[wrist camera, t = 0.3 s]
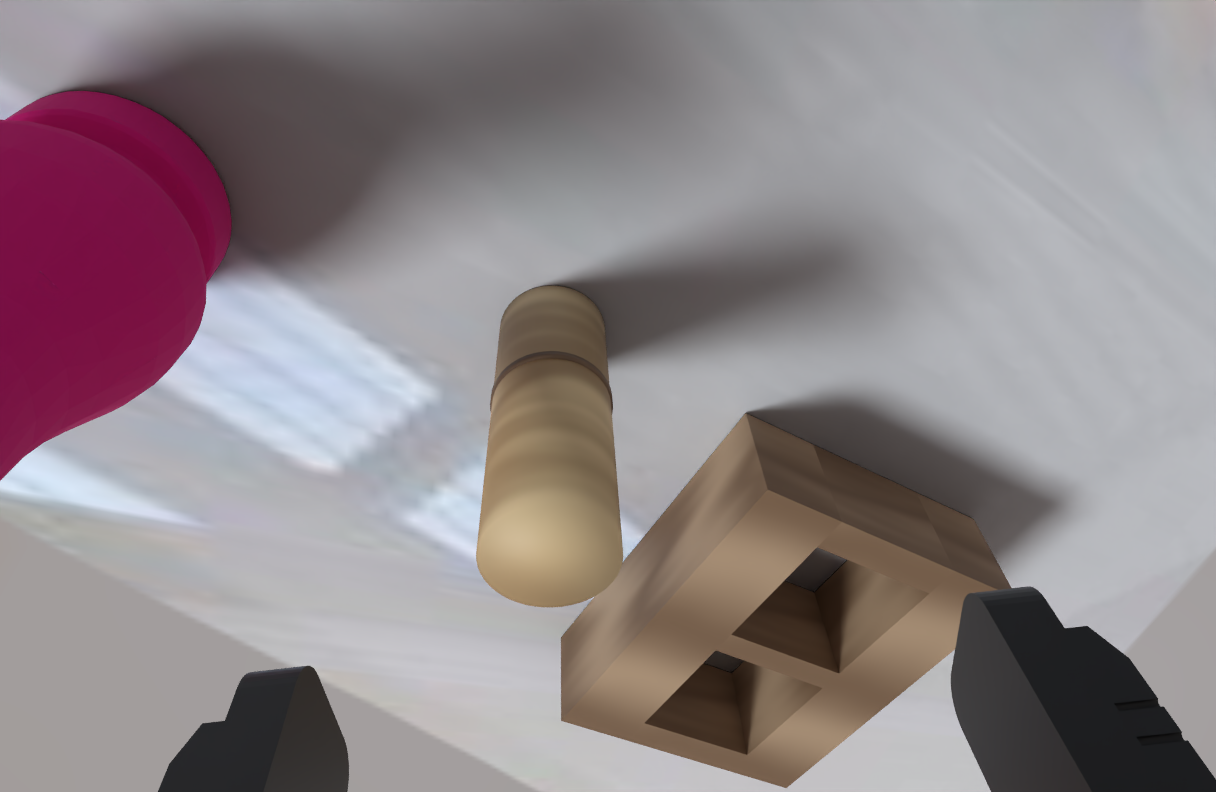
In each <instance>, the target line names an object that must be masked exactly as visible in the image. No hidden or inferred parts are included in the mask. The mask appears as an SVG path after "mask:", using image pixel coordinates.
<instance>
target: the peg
mask: <svg viewBox="0 0 1216 792" xmlns="http://www.w3.org/2000/svg"><path fill="white" fill-rule="evenodd" d="M490 410H491V419H490V428H489V438H488V447H487V457H486V466H485V476H484V485H483V495H482V504H481V514H480V523H479V533H478V543H477V552H476V560H477V565H478V569H479V571H480V573H481V575H482V577H483V578H484V580H485V581H486V582H487V583H488V585H489V586H491V587H492V588H493V589H494V590H495V591H497V592H498V593H499V594H501V595H503V596H504V597H506V598H508V599H511V600H513V601H516V602H518V603H522V604H525V605H530V606H537V607H562V606H568V605H573V604H576V603H580V602H583V601H585V600H588V599H590V598H592V597H594V596H596V595H597V594H599V593H601V592H602V591H603V590H605V589H606V588H607V587H608V586H609V585H610V584H611V583H612V582H613V581H614V579H615V578H616V577H617V575H618V573H619V571H620V569H621V566H622V562H623V547H622V535H621V523H620V510H619V498H618V485H617V473H616V461H615V448H614V436H613V424H612V410H613V402H612V393H611V388H610V386H609V374H608V362H607V349H606V337H605V325H604V320H603V317H602V315H601V313H600V311H599V309H598V308H597V306H596V305H595V304H594V303H593V302H592V301H591V300H590V299H589V298H588V297H586V296H585V295H584V294H582V293H580V292H578V291H576V290H573V289H571V288H567V287H562V286H542V287H537V288H534V289H531V290H528V291H526V292H524V293H522V294H521V295H519V296H518V297H517V298H515V299H514V300H513V301H512V302H511V303H510V304H509V306H508V307H507V309H506V310H505V312H504V314H503V316H502V320H501V325H500V333H499V342H498V352H497V361H496V371H495V381H494V386H493V389H492V394H491V402H490Z"/></svg>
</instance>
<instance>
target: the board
mask: <svg viewBox="0 0 1216 792" xmlns="http://www.w3.org/2000/svg"><path fill="white" fill-rule="evenodd" d="M817 547H818V548H820V549H823V550H825V551H828V552H830V553H832V554H835V555H837V556H840V557H842V558H844V559H847V561H846V562H845V563H844V564H843V565H842V566H841V567H840V568H839V569H838V570H837V571H836V572H835V573H834V574H833V575H832V576H831V577H830V578H829V579H828V580H827V581H826V582H825V583H824V584H823V585H822V586H821V587H819V588H818V589H817V590H816V591H815V592H811V591H809V590H806V589H804V588H801V587H799V586H796V585H794V584H791V583H789V582H786V581H784V580H785V579H786V578H787V577H788V576H789V575H790V574H791V573H792V572H793V571H794V570H795V569H796V568H797V567H798V566H799V565H800V564H801V563H802V562H803V561H804V560H805V559H806V558H807V557H808V556H809V555H810V554H811V553H812V552H813V551H814V550H815V549H816V548H817ZM1002 589H1011V586H1010V584H1009V583H1008V581H1007V579H1006V577H1005V575H1004V574H1003V572H1002V570H1001V568H1000V566H999V564H998V563H997V561H996V559H995V557H994V555H993V554H992V552H991V550H990V548H989V546H988V544H987V543H986V541H985V539H984V537H983V535H982V533H981V532H980V530H979V528H978V526H977V524H976V523H975V521H974V519H972V518H970V517H968V516H966V515H963V514H961V513H959V512H957V511H955V510H953V509H951V508H948V507H946V506H944V505H942V504H940V503H938V502H936V501H933V500H931V499H929V498H927V497H925V496H923V495H921V494H918V493H916V492H914V491H912V490H910V489H908V488H905V487H903V486H901V485H899V484H897V483H895V482H893V481H890V480H888V479H886V478H884V477H882V476H880V475H878V474H875V473H873V472H871V471H869V470H867V469H865V468H863V467H860V466H858V465H856V464H854V463H852V462H850V461H848V460H845V459H843V458H841V457H839V456H837V455H835V454H832V453H830V452H828V451H826V450H824V449H822V448H820V447H817V446H815V445H813V444H811V443H809V442H807V441H805V440H802V439H800V438H798V437H796V436H794V435H792V434H790V433H787V432H785V431H783V430H781V429H779V428H777V427H775V426H772V425H770V424H768V423H766V422H764V421H762V420H759V419H757V418H755V417H753V416H751V415H749V414H747V413H745V415H744V416H743V417H742V418H741V419H740V421H739V422H738V423H737V424H736V426H735V427H734V428H733V429H732V430H731V432H730V433H729V434H728V435H727V436H726V438H725V439H724V440H723V441H722V443H721V444H720V445H719V446H718V447H717V449H716V450H715V451H714V452H713V453H712V455H711V456H710V457H709V458H708V460H707V461H706V462H705V463H704V464H703V466H702V467H701V468H700V469H699V471H698V472H697V473H696V474H695V475H694V477H693V478H692V479H691V480H690V481H689V483H688V484H687V485H686V486H685V488H684V489H683V490H682V491H681V492H680V494H679V495H678V496H677V497H676V498H675V500H674V501H673V502H672V503H671V505H670V506H669V507H668V508H667V509H666V511H665V512H664V513H663V514H662V516H661V517H660V518H659V519H658V520H657V522H656V523H655V524H654V525H653V526H652V528H651V529H650V530H649V531H648V533H647V534H646V535H645V536H644V537H643V539H642V540H641V541H640V542H639V544H638V545H637V546H636V547H635V548H634V550H633V551H632V552H631V553H630V554H629V556H628V557H627V558H626V559H625V561H624V562H623V563H622V566H621V569H620V571H619V573H618V575H617V577H616V578H615V579H614V581H613V582H612V583H611V584H610V585H609V586H608V587H607V588H606V589H605V590H603V591H602V592H601V593H599V594H597V595H596V596H595V597H594V598H593V599H592V601H591V602H590V603H589V604H588V606H587V607H586V608H585V609H584V610H583V612H582V613H581V614H580V615H579V617H578V618H577V619H576V620H575V621H574V623H573V624H572V625H571V626H570V627H569V629H568V630H567V631H566V632H565V634H564V635H563V636H562V637H561V721H564V722H567V723H571V724H574V725H577V726H581V727H584V728H587V729H591V730H594V731H598V732H601V733H604V734H608V735H611V736H614V737H618V738H621V739H624V740H628V741H631V742H634V743H638V744H641V745H644V746H648V747H651V748H654V749H658V750H661V751H664V752H668V753H671V754H674V755H678V756H681V757H684V758H688V759H691V760H694V761H698V762H701V763H704V764H708V765H711V766H714V767H718V768H721V769H724V770H728V771H731V772H734V773H738V774H741V775H744V776H748V777H751V778H755V779H758V780H761V781H765V782H768V783H771V784H775V785H778V786H781V787H785V788H787V787H788V786H789V785H791V784H792V783H793V782H794V781H795V780H797V779H798V778H799V777H800V776H802V775H803V774H804V773H805V772H806V771H808V770H809V769H810V768H811V767H812V766H814V765H815V764H816V763H817V762H819V761H820V760H821V759H822V758H823V757H825V756H826V755H827V754H828V753H829V752H831V751H832V750H833V749H834V748H836V747H837V746H838V745H839V744H840V743H842V742H843V741H844V740H845V739H846V738H848V737H849V736H850V735H851V734H853V733H854V732H855V731H856V730H857V729H859V728H860V727H861V726H862V725H863V724H865V723H866V722H867V721H868V720H870V719H871V718H872V717H873V716H874V715H876V714H877V713H878V712H879V711H880V710H882V709H883V708H884V707H885V706H887V705H888V704H889V703H890V702H891V701H893V700H894V699H895V698H896V697H897V696H899V695H900V694H901V693H902V692H904V691H905V690H906V689H907V688H908V687H910V686H911V685H912V684H913V683H914V682H916V681H917V680H918V679H919V678H921V677H922V676H923V675H924V674H925V673H927V672H928V671H929V670H930V669H931V668H933V667H934V666H935V665H936V664H938V663H939V662H940V661H941V660H942V659H944V658H945V657H946V656H947V655H948V654H950V653H951V652H952V651H953V650H955V648H956V642H957V636H958V630H959V624H960V618H961V612H962V606H963V602H964V599H965V597H966V596H967V594H969V593H976V592H985V591H994V590H1002ZM715 651H719V652H721V653H724V654H727V655H730V656H733V657H736V658H738V659H741V660H744V662H743V663H742V664H741V665H740V666H739V667H738V668H737V669H736V670H735V671H734V672H733V673H729V672H726V671H723V670H721V669H718V668H715V667H712V666H709V665H706V664H703V663H704V662H705V661H706V660H707V659H708V658H709V657H710V656H711V655H712V654H713V653H714V652H715Z"/></svg>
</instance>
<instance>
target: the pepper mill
mask: <svg viewBox="0 0 1216 792" xmlns="http://www.w3.org/2000/svg"><path fill="white" fill-rule="evenodd" d="M231 222H232V221H231V213H230V205H229V202H228V198H227V195H226V192H225V189H224V186H223V184H222V182H221V180H220V178H219V176H218V174H217V172H216V170H215V169H214V167H213V165H212V164H211V162H210V161H209V160H208V158H207V157H206V156H205V154H204V153H203V152H202V151H201V150H200V148H199V147H198V146H197V145H196V144H195V143H194V142H193V140H192V139H191V138H190V137H188V136H187V135H186V134H185V133H184V132H183V131H181V130H180V129H179V128H178V127H176V126H175V125H174V124H172V123H171V122H170V121H168V120H167V119H166V118H164V117H163V116H161V115H160V114H158V113H156V112H154V111H152V110H151V109H149V108H146V107H144V106H142V105H140V104H138V103H135V102H133V101H130V100H127V99H124V98H121V97H118V96H114V95H109V94H105V93H99V92H90V91H69V92H62V93H57V94H52V95H49V96H46V97H43V98H40V99H38V100H36V101H35V102H33V103H31V104H29V105H27V106H26V107H24V108H22V109H21V110H19V111H18V112H16V113H15V114H13V115H12V116H10V117H9V118H7V119H6V120H0V480H1V479H2V478H3V477H4V476H5V475H6V474H7V473H8V472H9V471H10V470H11V469H12V468H13V467H14V466H15V465H16V464H17V463H18V462H19V461H20V460H21V459H22V458H23V457H24V456H26V455H27V454H28V453H30V452H31V451H33V450H34V449H35V448H37V447H38V446H40V445H41V444H42V443H44V442H46V441H48V440H50V439H52V438H54V437H56V436H58V435H60V434H61V433H63V432H65V431H68V430H70V429H72V428H75V427H77V426H79V425H82V424H84V423H86V422H89V421H91V420H93V419H96V418H98V417H100V416H102V415H105V414H107V413H109V412H112V411H114V410H115V409H117V408H119V407H121V406H123V405H125V404H126V403H128V402H129V401H131V400H132V399H134V398H135V397H137V396H138V395H140V394H141V393H142V392H144V391H145V390H147V389H148V388H150V387H151V386H153V385H154V384H155V383H156V382H157V381H158V380H159V379H160V378H161V377H162V376H163V375H164V374H165V373H166V372H167V371H168V370H169V369H170V368H171V367H172V366H173V365H174V363H175V362H176V361H177V360H178V358H179V357H180V356H181V355H182V354H183V352H184V351H185V350H186V349H187V347H188V346H189V345H190V344H191V342H192V340H193V338H194V337H195V335H196V333H197V331H198V329H199V326H200V323H201V320H202V316H203V312H204V308H205V304H206V284H207V282H208V281H209V280H210V278H211V277H212V275H213V274H214V272H215V271H216V269H217V268H218V266H219V265H220V263H221V261H222V260H223V258H224V256H225V254H226V251H227V248H228V245H229V242H230V236H231Z"/></svg>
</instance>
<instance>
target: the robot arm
mask: <svg viewBox="0 0 1216 792" xmlns="http://www.w3.org/2000/svg"><path fill="white" fill-rule="evenodd" d="M951 691H952V698H953V703H954V707H955V711H956V714H957V718H958V720H959V723H960V726H961V728H962V730H963V732H964V735H965V737H966V739H967V741H968V743H969V745H970V747H971V750H972V752H973V754H974V756H975V758H976V760H977V762H978V764H979V767H980V769H981V771H982V773H983V775H984V777H985V779H986V782H987V784H988V786H989V788H990V790H991V792H1216V779H1215V778H1214V776H1213V775H1212V774H1211V772H1210V771H1209V770H1208V768H1207V767H1206V765H1205V764H1204V762H1203V761H1202V760H1201V758H1200V757H1199V756H1198V754H1197V753H1196V751H1195V750H1194V748H1193V747H1192V746H1191V744H1190V743H1189V741H1185V740H1184V739H1183V738H1182V735H1181V733H1182V732H1181V730H1180V729H1179V727H1178V726H1177V725H1176V723H1175V722H1174V720H1173V719H1172V718H1171V716H1170V715H1169V713H1168V712H1167V711H1166V709H1165V708H1164V707H1160V706H1159V704H1158V698H1157V697H1156V695H1155V694H1154V692H1153V691H1152V690H1151V688H1150V687H1149V685H1148V684H1147V683H1146V681H1145V680H1144V678H1143V677H1142V676H1141V674H1140V673H1139V671H1138V670H1137V669H1136V667H1135V666H1134V664H1133V663H1132V661H1131V660H1130V659H1129V658H1128V657H1127V656H1126V655H1124V654H1123V653H1122V652H1120V651H1119V650H1118V649H1116V648H1115V647H1114V646H1113V645H1111V644H1110V643H1109V642H1107V641H1106V640H1105V639H1104V638H1102V637H1101V636H1100V635H1098V634H1097V633H1096V632H1094V631H1093V630H1092V629H1091V628H1089V627H1088V626H1083V627H1074V628H1064V627H1063V625H1062V624H1061V622H1060V621H1059V619H1058V618H1057V616H1056V615H1055V613H1054V612H1053V610H1052V609H1051V607H1050V606H1049V604H1048V603H1047V601H1046V599H1045V598H1044V597H1043V595H1042V594H1041V593H1040V592H1039V591H1038V590H1036V589H1035V588H1033V587H1020V588H1011V589H1002V590H994V591H985V592H976V593H969V594H967V596H966V597H965V599H964V602H963V606H962V612H961V618H960V624H959V630H958V636H957V642H956V648H955V654H954V660H953V665H952V671H951ZM348 780H349V762H348V753H347V747H346V743H345V740H344V737H343V735H342V733H341V730H340V728H339V725H338V723H337V720H336V718H335V715H334V713H333V711H332V708H331V706H330V704H329V701H328V699H327V696H326V694H325V691H324V689H323V686H322V684H321V682H320V679H319V677H318V675H317V672H316V671H315V669H314V668H313V667H311V666H302V667H293V668H284V669H275V670H267V671H258V672H250V673H248V674H246V675H245V676H244V677H243V678H242V679H241V681H240V683H239V685H238V687H237V690H236V693H235V695H234V698H233V701H232V703H231V706H230V709H229V711H228V714H227V717H226V720H225V721H221V722H211V723H203V724H202V725H201V726H200V728H198V730H197V731H196V732H195V733H194V735H193V736H192V737H191V738H190V739H189V741H188V742H187V743H186V744H185V746H184V747H183V748H182V749H181V750H180V752H179V753H178V754H177V755H176V757H175V758H174V759H173V760H172V761H171V763H170V764H169V766H168V769H167V771H166V773H165V776H164V778H163V781H162V783H161V786H160V788H159V790H158V792H347V789H348Z"/></svg>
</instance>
